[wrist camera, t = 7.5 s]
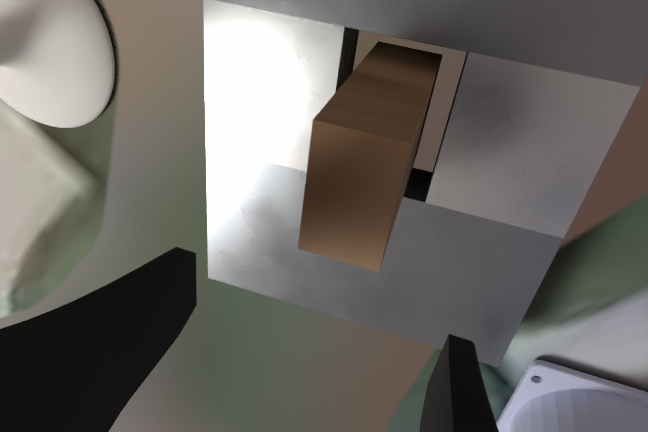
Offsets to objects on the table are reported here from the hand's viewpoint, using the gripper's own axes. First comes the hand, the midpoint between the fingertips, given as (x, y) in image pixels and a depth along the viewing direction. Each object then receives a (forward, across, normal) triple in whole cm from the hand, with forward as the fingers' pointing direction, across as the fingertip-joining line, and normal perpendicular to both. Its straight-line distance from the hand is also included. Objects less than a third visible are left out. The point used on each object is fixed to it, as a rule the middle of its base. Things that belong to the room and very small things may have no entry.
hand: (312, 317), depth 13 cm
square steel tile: (+9, 0, -1) cm, 9 cm away
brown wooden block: (+9, 0, -3) cm, 10 cm away
